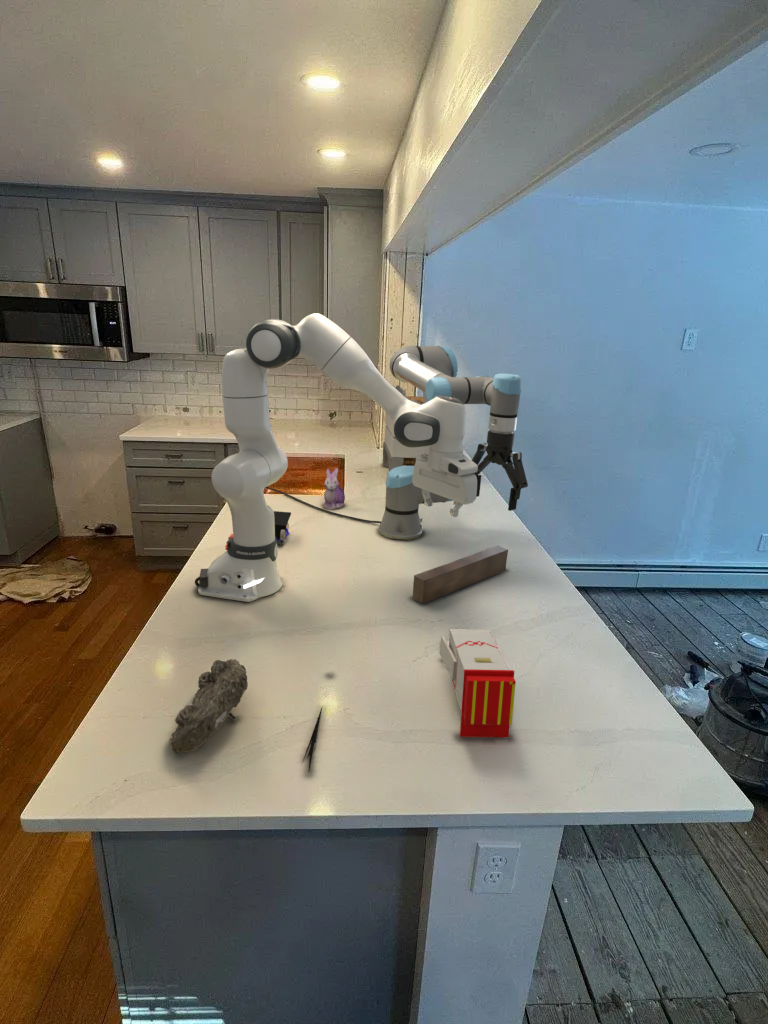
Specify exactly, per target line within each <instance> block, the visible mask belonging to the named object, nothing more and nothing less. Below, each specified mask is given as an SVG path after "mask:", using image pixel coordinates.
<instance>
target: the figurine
mask: <svg viewBox="0 0 768 1024" xmlns="http://www.w3.org/2000/svg"><path fill="white" fill-rule="evenodd" d="M338 473H339V468H338V467H336V468H334V470H333V471H332V472H331V469H330V468H327V469H326V479H325V481H324V484H323V485H324V487H325V490H324V493H323V499H324V502H323V505H324V508H325V509H331V510H334V509H339V508H342V507H343V506H345V501H346V494H345V491H344V490H343V488H342V487H341V486H339V485H340V483H339V481H338Z"/></svg>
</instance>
